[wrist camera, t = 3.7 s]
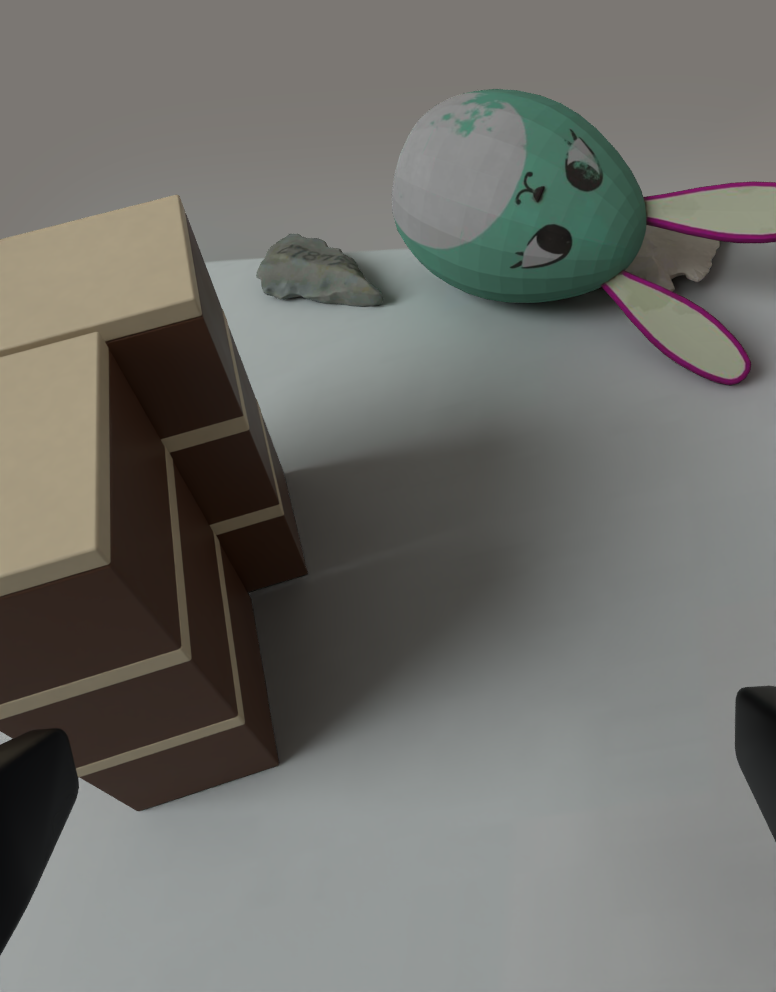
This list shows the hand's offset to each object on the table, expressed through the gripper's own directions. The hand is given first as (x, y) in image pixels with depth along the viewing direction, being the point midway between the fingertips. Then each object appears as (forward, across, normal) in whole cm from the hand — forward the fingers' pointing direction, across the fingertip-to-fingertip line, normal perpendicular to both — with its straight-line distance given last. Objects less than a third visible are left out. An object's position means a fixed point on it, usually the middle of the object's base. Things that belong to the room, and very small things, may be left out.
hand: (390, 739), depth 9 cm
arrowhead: (+30, -12, -7) cm, 33 cm away
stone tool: (+32, +6, -8) cm, 33 cm away
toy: (+33, -1, -14) cm, 36 cm away
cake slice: (+14, +9, +7) cm, 18 cm away
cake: (+19, +10, +3) cm, 22 cm away
